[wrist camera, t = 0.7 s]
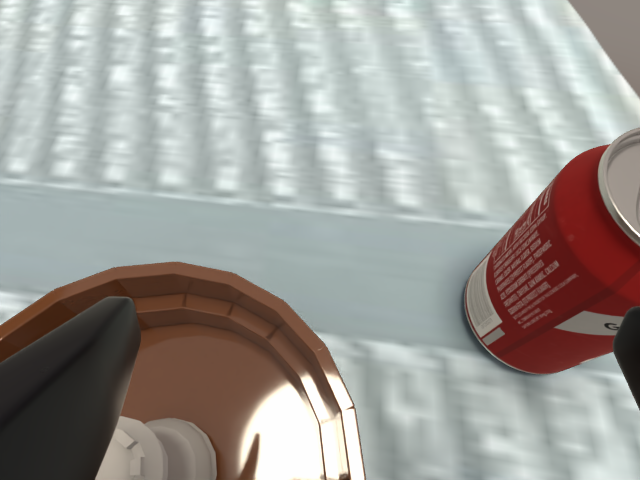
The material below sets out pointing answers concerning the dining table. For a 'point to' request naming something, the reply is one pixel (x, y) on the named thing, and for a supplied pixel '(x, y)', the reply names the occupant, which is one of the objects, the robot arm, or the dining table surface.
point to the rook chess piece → (158, 452)
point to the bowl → (220, 368)
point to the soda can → (564, 266)
